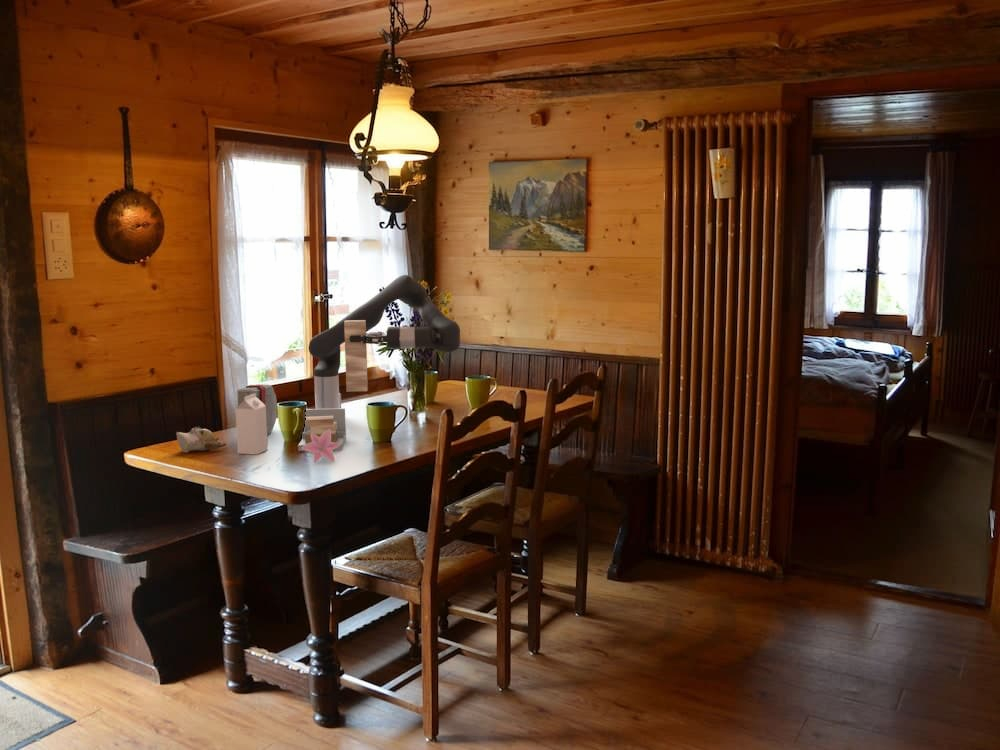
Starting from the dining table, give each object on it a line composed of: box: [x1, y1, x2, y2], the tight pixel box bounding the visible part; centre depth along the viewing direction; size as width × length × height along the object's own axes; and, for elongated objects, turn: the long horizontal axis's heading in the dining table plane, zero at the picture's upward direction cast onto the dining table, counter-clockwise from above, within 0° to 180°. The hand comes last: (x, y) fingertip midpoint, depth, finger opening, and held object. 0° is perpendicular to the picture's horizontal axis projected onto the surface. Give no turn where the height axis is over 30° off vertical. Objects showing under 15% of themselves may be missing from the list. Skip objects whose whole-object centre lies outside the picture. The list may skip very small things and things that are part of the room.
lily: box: [301, 429, 340, 464], centre depth 278 cm, size 11×11×9 cm
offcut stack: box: [305, 416, 338, 443], centre depth 294 cm, size 6×10×8 cm, turn 94°
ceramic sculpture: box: [175, 425, 227, 454], centre depth 290 cm, size 11×9×15 cm
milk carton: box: [234, 393, 269, 455], centre depth 287 cm, size 7×7×19 cm
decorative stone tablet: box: [236, 384, 278, 436], centre depth 308 cm, size 19×6×30 cm
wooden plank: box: [344, 320, 369, 392], centre depth 297 cm, size 2×7×24 cm, turn 94°
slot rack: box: [297, 407, 347, 452], centre depth 296 cm, size 16×14×11 cm
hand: (350, 338), depth 296 cm, fingers closed on wooden plank, 2 cm apart
